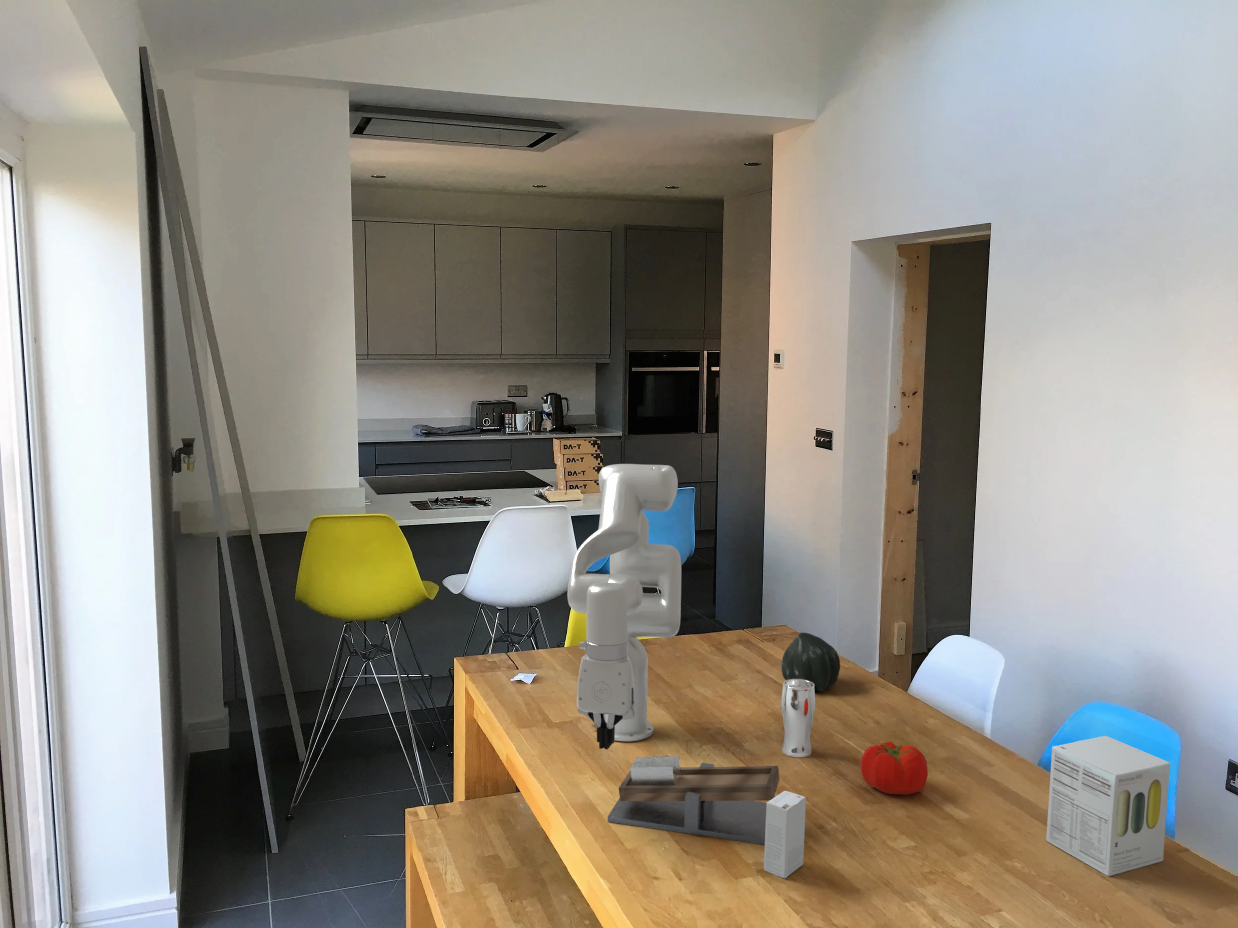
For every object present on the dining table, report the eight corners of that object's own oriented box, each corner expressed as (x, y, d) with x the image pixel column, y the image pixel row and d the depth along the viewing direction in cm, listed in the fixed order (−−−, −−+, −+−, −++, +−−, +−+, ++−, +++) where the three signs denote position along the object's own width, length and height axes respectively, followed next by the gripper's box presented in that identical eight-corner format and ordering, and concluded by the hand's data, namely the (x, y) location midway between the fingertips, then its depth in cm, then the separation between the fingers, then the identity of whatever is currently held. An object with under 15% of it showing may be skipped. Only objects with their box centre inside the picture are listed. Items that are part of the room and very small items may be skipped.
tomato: (928, 779, 196) (930, 738, 195) (926, 806, 184) (928, 763, 183) (863, 770, 200) (864, 730, 199) (857, 796, 188) (858, 753, 187)
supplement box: (1108, 878, 160) (1115, 775, 158) (1044, 841, 172) (1050, 745, 170) (1165, 861, 165) (1172, 762, 163) (1099, 827, 177) (1105, 733, 175)
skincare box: (781, 856, 165) (783, 788, 164) (805, 865, 163) (807, 796, 161) (762, 871, 161) (764, 800, 159) (786, 880, 158) (788, 809, 156)
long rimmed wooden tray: (620, 801, 179) (618, 787, 179) (633, 780, 187) (631, 768, 187) (773, 800, 171) (771, 786, 171) (779, 778, 179) (777, 765, 179)
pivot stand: (606, 822, 177) (607, 785, 176) (629, 787, 191) (629, 753, 190) (779, 848, 168) (780, 809, 167) (789, 809, 182) (790, 773, 182)
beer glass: (813, 759, 205) (815, 690, 203) (779, 756, 206) (781, 687, 205) (813, 746, 212) (815, 679, 210) (780, 744, 213) (782, 677, 212)
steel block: (632, 788, 180) (630, 767, 180) (639, 777, 185) (637, 756, 184) (675, 788, 178) (672, 766, 177) (681, 776, 182) (678, 755, 182)
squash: (858, 665, 251) (822, 616, 255) (838, 683, 238) (800, 632, 242) (818, 692, 258) (783, 645, 262) (796, 711, 245) (760, 661, 249)
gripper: (561, 651, 180) (561, 749, 181) (640, 659, 175) (639, 758, 177) (574, 641, 187) (574, 735, 188) (650, 648, 183) (649, 743, 184)
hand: (605, 746), depth 183 cm, fingers closed
